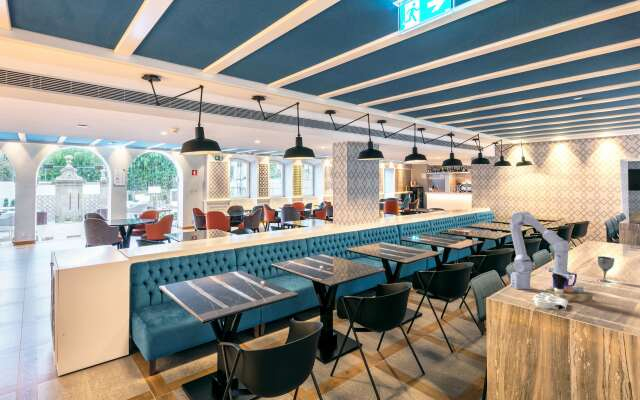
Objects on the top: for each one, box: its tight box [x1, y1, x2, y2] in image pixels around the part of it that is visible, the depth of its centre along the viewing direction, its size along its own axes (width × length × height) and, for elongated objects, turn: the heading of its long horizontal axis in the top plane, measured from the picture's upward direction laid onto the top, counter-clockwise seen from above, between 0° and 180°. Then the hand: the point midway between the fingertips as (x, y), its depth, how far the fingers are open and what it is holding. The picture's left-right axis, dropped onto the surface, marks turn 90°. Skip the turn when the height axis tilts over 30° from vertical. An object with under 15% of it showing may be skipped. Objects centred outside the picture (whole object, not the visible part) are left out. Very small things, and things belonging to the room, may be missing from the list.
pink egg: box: [564, 286, 574, 294], centre depth 173 cm, size 4×4×3 cm
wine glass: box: [597, 255, 615, 284], centre depth 207 cm, size 8×8×15 cm
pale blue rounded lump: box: [573, 285, 585, 294], centre depth 173 cm, size 4×4×3 cm
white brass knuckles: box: [530, 292, 569, 311], centre depth 164 cm, size 3×18×15 cm
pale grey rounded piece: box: [553, 287, 564, 293], centre depth 174 cm, size 4×4×3 cm
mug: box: [552, 270, 578, 289], centre depth 189 cm, size 8×12×10 cm
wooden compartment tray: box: [545, 288, 593, 303], centre depth 174 cm, size 17×10×3 cm, turn 90°
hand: (559, 288), depth 173 cm, fingers closed, pressing on pale grey rounded piece
